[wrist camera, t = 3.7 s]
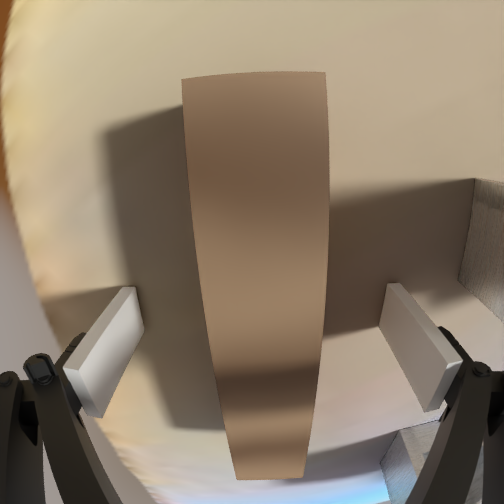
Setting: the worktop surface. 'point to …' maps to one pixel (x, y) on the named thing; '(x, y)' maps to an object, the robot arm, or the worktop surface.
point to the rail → (261, 254)
